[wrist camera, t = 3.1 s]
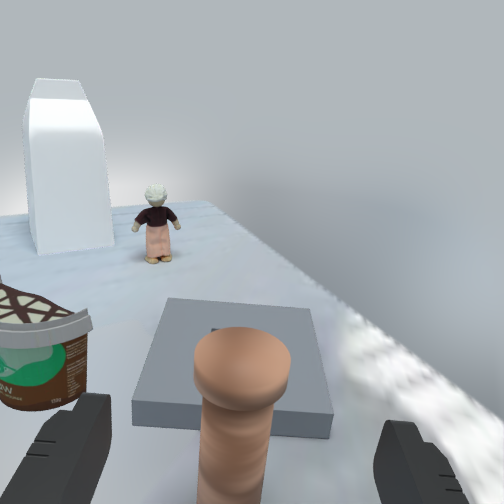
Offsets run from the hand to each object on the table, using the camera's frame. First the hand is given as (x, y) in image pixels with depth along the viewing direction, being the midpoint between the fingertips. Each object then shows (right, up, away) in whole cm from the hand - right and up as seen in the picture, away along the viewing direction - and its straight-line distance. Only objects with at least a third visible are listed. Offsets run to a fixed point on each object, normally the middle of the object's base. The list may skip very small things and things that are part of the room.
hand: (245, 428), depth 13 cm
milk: (-32, +7, +64) cm, 71 cm away
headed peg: (-2, -15, +19) cm, 24 cm away
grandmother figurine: (-16, +4, +59) cm, 61 cm away
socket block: (-2, -8, +35) cm, 36 cm away
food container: (-22, -9, +29) cm, 37 cm away
